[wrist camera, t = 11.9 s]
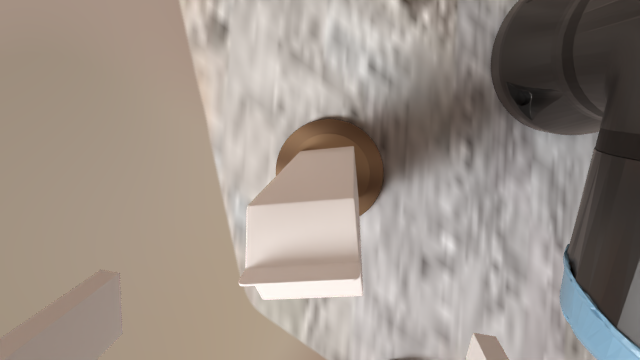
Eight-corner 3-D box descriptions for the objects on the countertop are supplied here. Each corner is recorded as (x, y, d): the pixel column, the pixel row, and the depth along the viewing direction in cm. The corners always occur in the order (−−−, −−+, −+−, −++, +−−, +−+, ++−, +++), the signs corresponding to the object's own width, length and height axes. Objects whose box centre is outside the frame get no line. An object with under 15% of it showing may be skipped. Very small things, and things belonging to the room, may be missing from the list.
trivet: (282, 112, 36) (280, 112, 36) (391, 126, 36) (392, 127, 35) (273, 214, 40) (271, 216, 39) (373, 229, 39) (374, 232, 38)
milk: (299, 150, 36) (222, 224, 15) (355, 145, 36) (354, 215, 14) (306, 203, 38) (243, 338, 17) (359, 199, 37) (365, 335, 16)
